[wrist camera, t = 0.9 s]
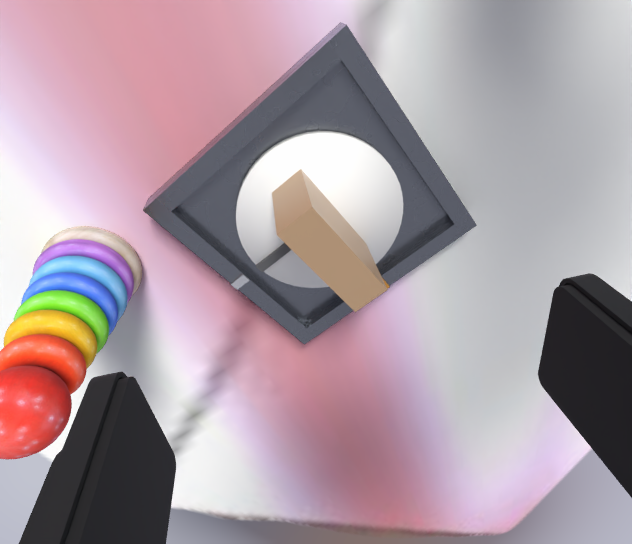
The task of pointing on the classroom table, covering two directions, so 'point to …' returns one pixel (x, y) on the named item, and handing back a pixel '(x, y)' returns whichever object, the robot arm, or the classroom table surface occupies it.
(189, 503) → the classroom table surface
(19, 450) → the stacking toy
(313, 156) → the dial
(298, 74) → the dial housing
